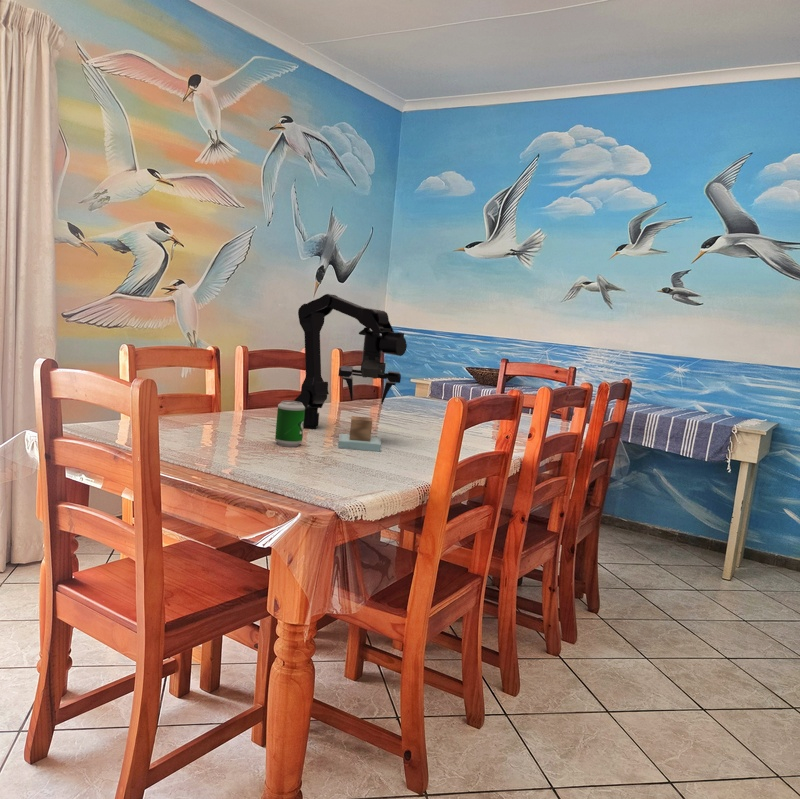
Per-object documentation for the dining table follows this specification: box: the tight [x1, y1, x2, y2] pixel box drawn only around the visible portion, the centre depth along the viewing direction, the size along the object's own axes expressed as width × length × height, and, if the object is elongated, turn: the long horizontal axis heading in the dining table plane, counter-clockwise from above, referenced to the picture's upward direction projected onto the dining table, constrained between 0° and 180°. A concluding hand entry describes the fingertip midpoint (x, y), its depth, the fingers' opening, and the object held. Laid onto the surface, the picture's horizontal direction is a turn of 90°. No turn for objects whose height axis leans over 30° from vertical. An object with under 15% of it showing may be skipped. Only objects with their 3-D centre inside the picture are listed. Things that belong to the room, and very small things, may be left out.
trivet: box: [337, 433, 382, 453], centre depth 203 cm, size 12×12×2 cm
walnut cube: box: [349, 415, 373, 442], centre depth 202 cm, size 6×6×6 cm
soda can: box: [274, 400, 305, 448], centre depth 194 cm, size 8×8×12 cm
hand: (366, 402), depth 212 cm, fingers open, 9 cm apart
